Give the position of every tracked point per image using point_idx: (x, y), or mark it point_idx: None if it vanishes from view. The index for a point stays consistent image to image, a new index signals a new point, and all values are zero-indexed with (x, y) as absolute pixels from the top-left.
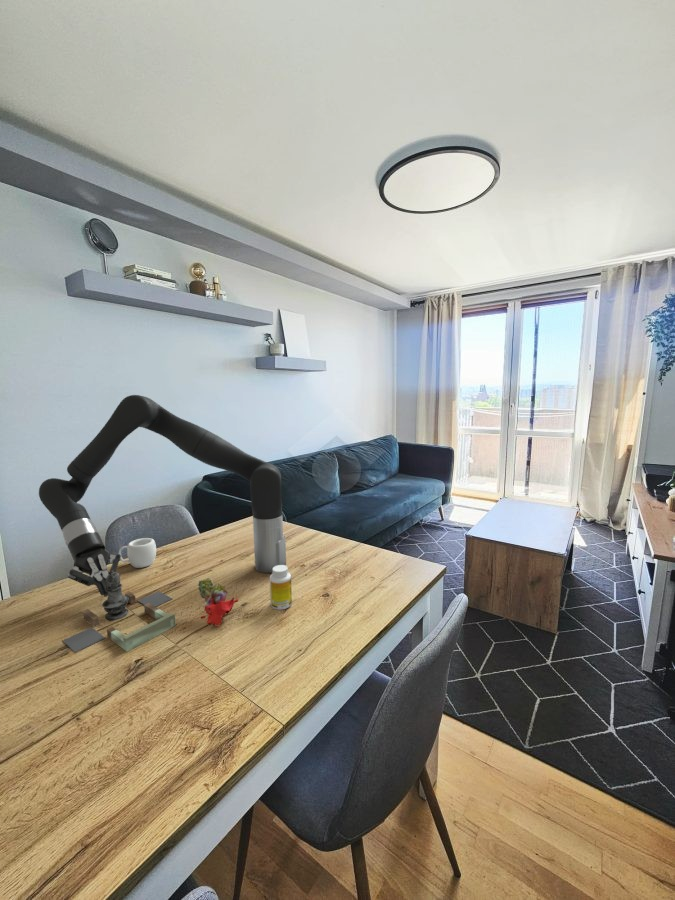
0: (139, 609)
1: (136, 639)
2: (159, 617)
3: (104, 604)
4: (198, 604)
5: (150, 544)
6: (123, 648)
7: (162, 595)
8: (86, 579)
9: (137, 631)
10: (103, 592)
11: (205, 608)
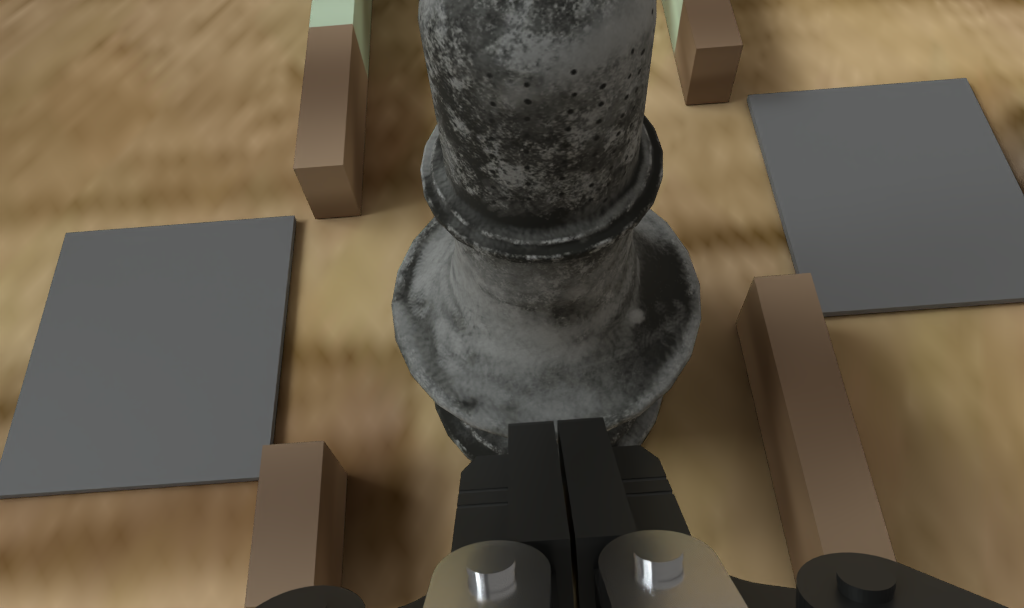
0: (358, 297)
1: None
2: (363, 1)
3: (675, 303)
4: (56, 32)
5: None
6: None
7: (58, 359)
8: (990, 603)
9: None
10: (633, 452)
11: None
